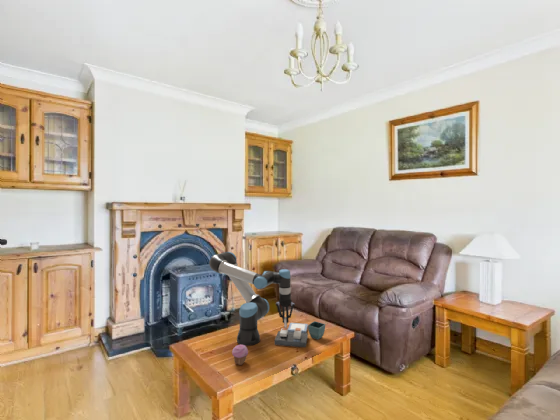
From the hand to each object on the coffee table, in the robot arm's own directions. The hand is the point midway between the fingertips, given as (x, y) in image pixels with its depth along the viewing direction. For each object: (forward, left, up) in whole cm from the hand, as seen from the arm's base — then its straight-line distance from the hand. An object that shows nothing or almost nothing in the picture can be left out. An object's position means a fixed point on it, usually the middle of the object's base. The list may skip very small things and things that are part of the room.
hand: (285, 327), depth 205 cm
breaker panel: (+5, -5, -7) cm, 10 cm away
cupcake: (-20, -37, -7) cm, 43 cm away
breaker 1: (0, -5, -1) cm, 5 cm away
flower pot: (+21, +3, -7) cm, 22 cm away
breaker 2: (+9, -5, -1) cm, 10 cm away
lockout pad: (+7, +15, -7) cm, 18 cm away
